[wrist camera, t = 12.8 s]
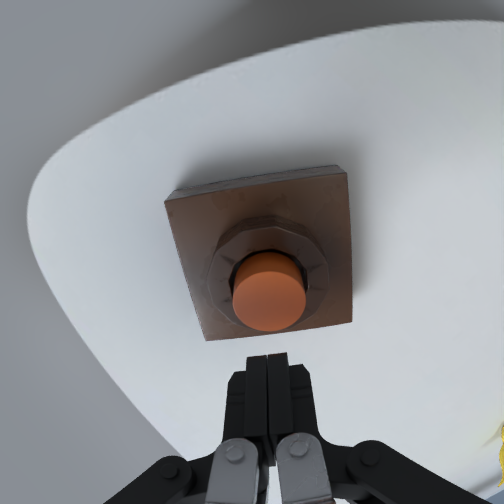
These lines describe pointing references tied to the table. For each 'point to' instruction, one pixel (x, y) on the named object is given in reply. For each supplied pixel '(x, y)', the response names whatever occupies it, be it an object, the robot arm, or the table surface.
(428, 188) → the table surface
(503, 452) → the teapot
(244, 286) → the button
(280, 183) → the button block
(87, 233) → the table surface
